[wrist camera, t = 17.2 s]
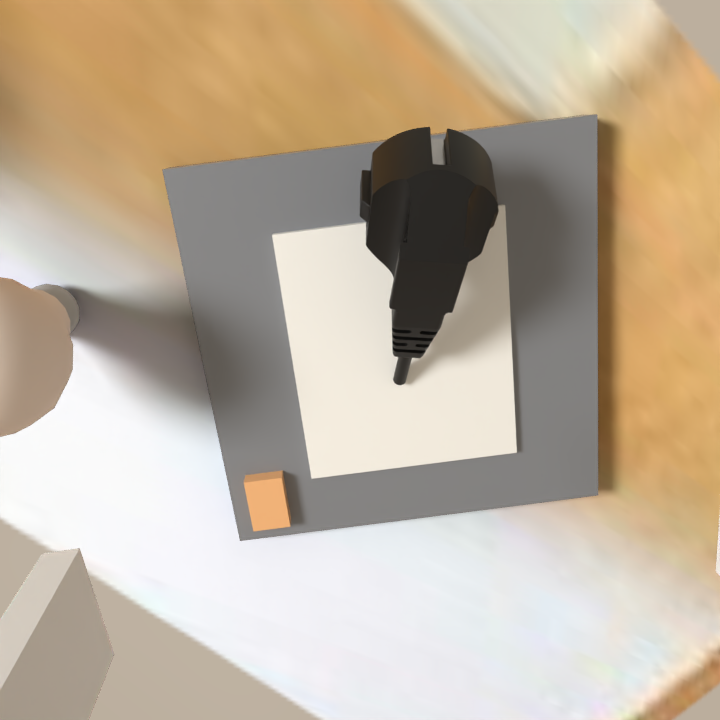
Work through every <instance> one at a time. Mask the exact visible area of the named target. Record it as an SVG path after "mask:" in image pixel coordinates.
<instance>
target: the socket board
mask: <svg viewBox="0 0 720 720" xmlns="http://www.w3.org/2000/svg"><path fill="white" fill-rule="evenodd" d="M458 132H461V133H463V134H465V135H467V136H469V137H471V138H472V139H474V140H475V141H477V142H478V143H479V144H480V145H481V146H482V147H483V148H484V149H485V151H486V152H487V154H488V155H489V157H490V160H491V162H492V168H493V175H494V181H495V188H496V194H497V201H498V209H499V212H498V215H497V218H496V221H495V224H494V226H493V227H492V228H491V229H490V230H489V233H488V236H487V239H486V242H485V245H484V248H483V251H482V253H481V254H480V255H479V256H478V257H476V258H475V259H473V260H472V261H470V262H468V265H467V269H466V272H465V275H464V278H463V281H462V284H461V287H460V290H459V294H458V297H457V300H456V303H455V306H454V310H453V312H452V313H447V314H446V315H445V316H444V319H443V322H442V326H441V328H440V330H439V331H438V333H437V334H436V336H435V337H434V339H433V341H432V342H431V344H430V346H429V347H428V349H427V350H426V352H425V353H424V355H423V356H422V357H421V358H412V360H411V364H410V368H409V371H408V375H407V379H406V382H405V384H403V385H397V384H395V383H394V381H393V377H394V373H395V368H396V364H397V360H398V357H395V356H394V355H393V351H392V309H390V308H389V300H390V295H391V290H392V285H393V280H394V278H393V275H392V273H391V272H390V270H389V269H388V268H387V267H386V266H385V265H384V264H383V263H382V262H381V261H379V260H378V259H377V258H376V257H375V256H374V255H373V254H372V253H371V251H370V250H369V249H368V248H367V246H366V221H365V220H363V219H362V218H361V217H360V182H361V173H362V170H370V169H371V162H372V154H373V152H374V151H375V149H376V148H377V147H378V146H380V145H381V144H382V143H383V142H385V141H386V140H383V141H375V142H367V143H359V144H351V145H343V146H335V147H327V148H320V149H312V150H304V151H296V152H288V153H280V154H272V155H264V156H256V157H249V158H241V159H233V160H225V161H217V162H209V163H201V164H193V165H186V166H178V167H170V168H166V169H163V175H164V180H165V185H166V189H167V194H168V199H169V204H170V208H171V213H172V218H173V223H174V228H175V232H176V237H177V242H178V247H179V251H180V256H181V261H182V266H183V271H184V275H185V280H186V285H187V290H188V294H189V299H190V304H191V309H192V313H193V318H194V323H195V328H196V333H197V337H198V342H199V347H200V352H201V356H202V361H203V366H204V371H205V376H206V380H207V385H208V390H209V395H210V399H211V404H212V409H213V414H214V418H215V423H216V428H217V433H218V438H219V442H220V447H221V452H222V457H223V461H224V466H225V471H226V476H227V481H228V485H229V490H230V495H231V500H232V504H233V509H234V514H235V519H236V523H237V528H238V533H239V538H240V541H243V540H251V539H259V538H267V537H275V536H283V535H290V534H298V533H306V532H314V531H322V530H330V529H338V528H345V527H353V526H361V525H369V524H377V523H385V522H392V521H400V520H408V519H416V518H424V517H432V516H440V515H447V514H455V513H463V512H471V511H479V510H487V509H494V508H502V507H510V506H518V505H526V504H534V503H542V502H549V501H557V500H565V499H573V498H581V497H589V496H596V495H598V208H597V114H595V115H580V116H572V117H564V118H556V119H548V120H540V121H532V122H524V123H517V124H509V125H501V126H493V127H485V128H477V129H469V130H461V131H458ZM445 136H446V133H438V134H431V139H443V140H444V139H445Z"/></svg>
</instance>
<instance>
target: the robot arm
mask: <svg viewBox="0 0 720 720" xmlns="http://www.w3.org/2000/svg"><path fill="white" fill-rule="evenodd" d="M716 572H717V574H718V575H719V576H720V517H719V532H718V547H717V562H716ZM113 656H114V652H113V649H112V646H111V643H110V640H109V637H108V634H107V631H106V628H105V625H104V621H103V618H102V615H101V612H100V609H99V606H98V603H97V600H96V597H95V594H94V591H93V588H92V585H91V582H90V579H89V576H88V573H87V569H86V566H85V563H84V560H83V557H82V554H81V551H80V548H78V549H71V550H64V551H57V552H49V553H43V554H41V556H40V558H39V559H38V561H37V562H36V564H35V565H34V567H33V569H32V570H31V572H30V573H29V575H28V576H27V578H26V579H25V581H24V583H23V584H22V586H21V587H20V589H19V590H18V592H17V594H16V595H15V597H14V598H13V600H12V602H11V603H10V605H9V606H8V608H7V609H6V611H5V612H4V614H3V616H2V617H1V619H0V720H89V718H90V716H91V713H92V710H93V708H94V705H95V703H96V700H97V698H98V695H99V693H100V690H101V687H102V685H103V682H104V680H105V677H106V674H107V672H108V669H109V667H110V664H111V662H112V659H113Z"/></svg>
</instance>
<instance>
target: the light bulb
mask: <svg viewBox="0 0 720 720" xmlns="http://www.w3.org/2000/svg"><path fill="white" fill-rule="evenodd" d="M79 314H80V309H79V307H78V304H77V301H76V299H75V298H74V297H73V296H72V295H71V294H70V293H69V291H67V290H65V289H63V288H62V287H60V286H57V285H50V284H44V285H40V286H36V287H34V288H32V289H30V288H28V287H26V286H24V285H22V284H21V283H19V282H17V281H15V280H13V279H8V278H1V277H0V437H1V436H6V435H10V434H14V433H16V432H18V431H20V430H22V429H24V428H26V427H28V426H30V425H32V424H33V423H34V422H36V421H37V420H39V419H40V418H41V417H43V416H44V415H45V414H47V413H48V412H49V411H51V410H52V409H54V408H55V406H56V404H57V402H58V400H59V398H60V396H61V394H62V392H63V390H64V388H65V386H66V384H67V382H68V380H69V377H70V375H71V372H72V370H73V343H72V341H71V338H70V332H72V331H73V330H74V329H75V327H76V326H77V324H78V322H79Z"/></svg>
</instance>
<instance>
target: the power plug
mask: <svg viewBox="0 0 720 720" xmlns="http://www.w3.org/2000/svg"><path fill="white" fill-rule="evenodd" d="M498 212H499V209H498V201H497V194H496V188H495V181H494V175H493V168H492V162H491V160H490V157H489V155H488V154H487V152H486V151H485V149H484V148H483V147H482V146H481V145H480V144H479V143H478V142H477V141H475V140H474V139H472V138H471V137H469V136H467V135H465V134H463V133H461V132H458V131H455V130H452V129H447V132H446V136H445V139H444V140H443V139H431V133H430V127H424V128H417V129H412V130H408V131H405V132H402V133H399V134H397V135H395V136H393V137H391V138H389V139H388V140H386V141H385V142H383V143H382V144H381V145H380V146H378V147H377V148H376V149H375V151H374V152H373V154H372V162H371V169H370V170H362V173H361V182H360V217H361V218H362V219H363V220H365V221H366V246H367V248H368V249H369V250H370V251H371V253H372V254H373V255H374V256H375V257H376V258H377V259H378V260H379V261H381V262H382V263H383V264H384V265H385V266H386V267H387V268H388V269H389V270H390V272H391V273H392V275H393V278H394V280H393V285H392V290H391V295H390V300H389V308H390V309H392V351H393V355H394V356H395V357H398V360H397V364H396V368H395V373H394V377H393V381H394V383H395V384H397V385H403V384H405V382H406V379H407V375H408V371H409V368H410V364H411V360H412V358H421V357H422V356H423V355H424V353H425V352H426V350H427V349H428V347H429V346H430V344H431V342H432V341H433V339H434V337H435V336H436V334H437V333H438V331H439V330H440V328H441V326H442V322H443V319H444V316H445V315H446V314H447V313H452V312H453V310H454V306H455V303H456V300H457V297H458V294H459V290H460V287H461V284H462V281H463V278H464V275H465V272H466V269H467V265H468V262H470V261H472V260H473V259H475V258H476V257H478V256H479V255H480V254H481V253H482V251H483V248H484V245H485V242H486V239H487V236H488V233H489V230H490V229H491V228H492V227H493V226H494V224H495V221H496V218H497V215H498Z"/></svg>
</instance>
